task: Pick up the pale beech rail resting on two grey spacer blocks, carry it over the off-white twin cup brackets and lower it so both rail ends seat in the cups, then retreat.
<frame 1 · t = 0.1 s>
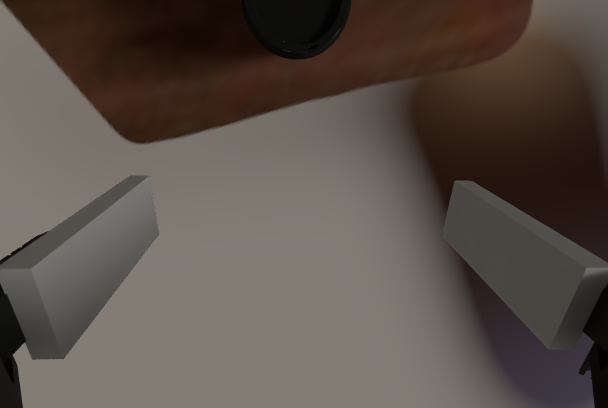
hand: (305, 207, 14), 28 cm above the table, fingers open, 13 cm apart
coffee cup: (292, 21, 35), on the table
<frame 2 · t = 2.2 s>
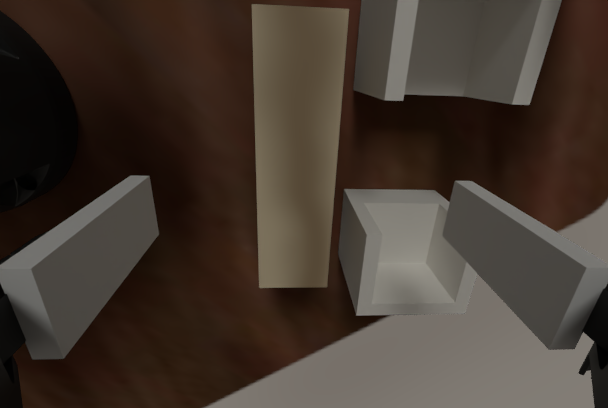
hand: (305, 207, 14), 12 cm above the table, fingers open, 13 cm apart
rail: (293, 150, 22), point 3 cm above the table, touching rest blocks
bracket pair: (396, 143, 26), on the table
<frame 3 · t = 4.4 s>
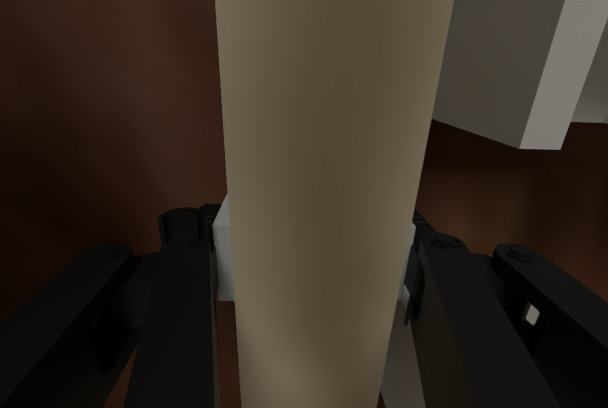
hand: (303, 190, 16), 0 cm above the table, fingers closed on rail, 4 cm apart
rail: (306, 213, 13), point 3 cm above the table, touching gripper, rest blocks
bracket pair: (464, 190, 16), on the table
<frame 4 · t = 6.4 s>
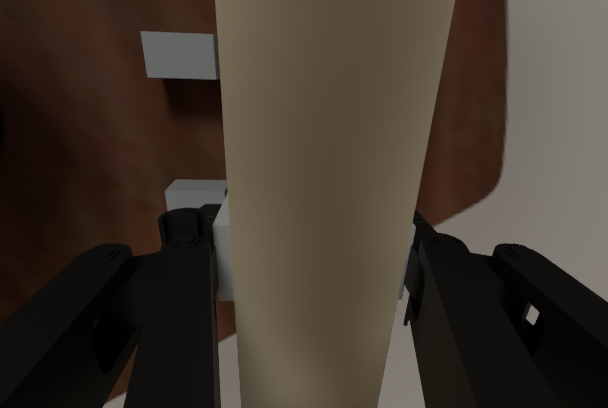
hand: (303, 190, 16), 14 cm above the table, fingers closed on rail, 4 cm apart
rest blocks: (198, 131, 28), on the table
rail: (306, 214, 13), point 17 cm above the table, touching gripper
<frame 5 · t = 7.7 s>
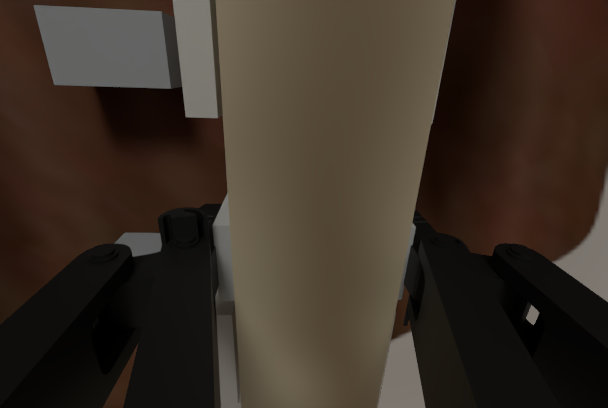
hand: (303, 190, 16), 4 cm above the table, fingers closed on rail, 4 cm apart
rest blocks: (154, 165, 19), on the table
rail: (306, 214, 13), point 7 cm above the table, touching gripper
bracket pair: (298, 168, 19), on the table
when the fingers open (1 cm above the table, at t = 8.7 s): rail drops 1 cm, resting on bracket pair.
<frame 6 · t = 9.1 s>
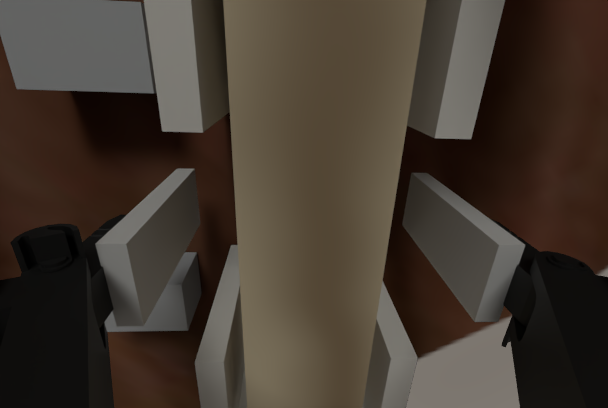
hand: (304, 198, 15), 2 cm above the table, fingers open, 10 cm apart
rest blocks: (139, 178, 16), on the table
rail: (304, 202, 14), point 3 cm above the table, touching bracket pair
bracket pair: (301, 181, 17), on the table
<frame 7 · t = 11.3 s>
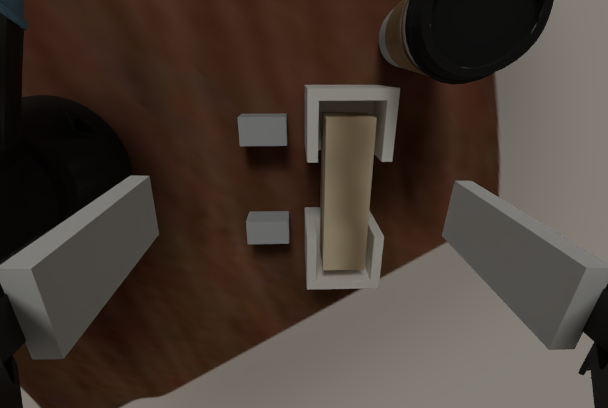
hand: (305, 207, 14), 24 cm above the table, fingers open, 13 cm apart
rest blocks: (267, 177, 38), on the table
rail: (340, 184, 36), point 3 cm above the table, touching bracket pair
bracket pair: (337, 176, 38), on the table
coffee cup: (406, 37, 33), on the table
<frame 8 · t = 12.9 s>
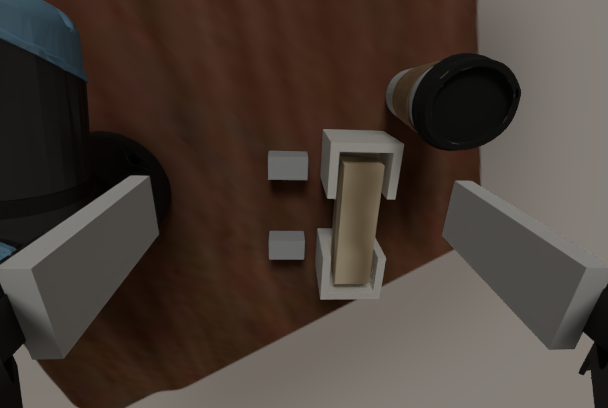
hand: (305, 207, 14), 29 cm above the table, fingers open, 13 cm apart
rest blocks: (287, 203, 45), on the table
rail: (349, 212, 43), point 3 cm above the table, touching bracket pair
bracket pair: (346, 203, 45), on the table
coffee cup: (407, 94, 40), on the table
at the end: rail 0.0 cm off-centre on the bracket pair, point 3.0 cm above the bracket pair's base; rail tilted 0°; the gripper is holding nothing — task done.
